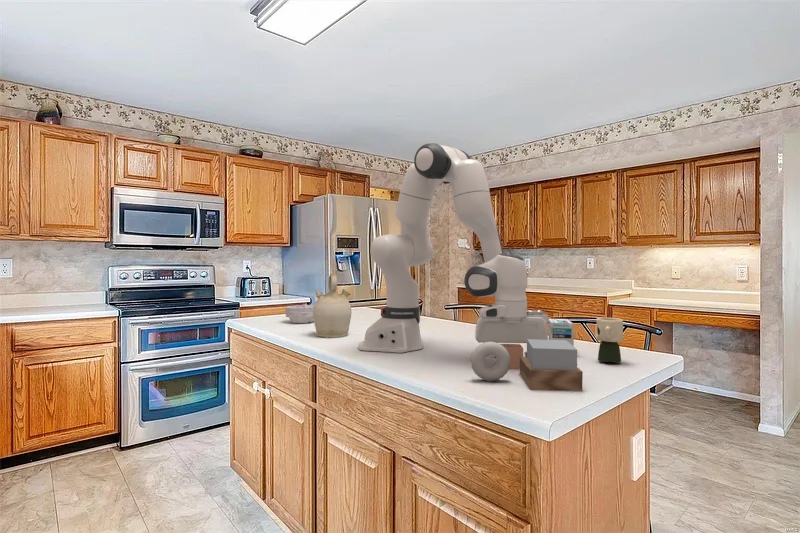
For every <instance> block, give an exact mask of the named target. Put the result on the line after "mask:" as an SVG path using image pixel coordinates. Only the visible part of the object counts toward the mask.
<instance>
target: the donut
mask: <svg viewBox="0 0 800 533" xmlns="http://www.w3.org/2000/svg"><path fill="white" fill-rule="evenodd" d="M500 344H501V343H496V342H484V343H480V344H478V345H477V346H476V347H475V349H474V350H473V352H472V353H471V358H470V366H471V369H472V371H473V373H474V374H475V375H476V376H477V377H478V378H479V379H481V380H483V381H488V382H493V381H498V380H501V379H502V378H503V377H505V375H507V374H508V372H509V370H510V369H509V368H510V363H511V361H510V355H509V353H508V351H507V350H506V349H505V348H504V347H503V346H502V345H500ZM491 355H494V356H495V357H496V358H495V359H496V363H495V365H494V366H491V367H489V366H487V365H486V364H485V359H486V358H487V356H488V357H489V356H491Z"/></svg>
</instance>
